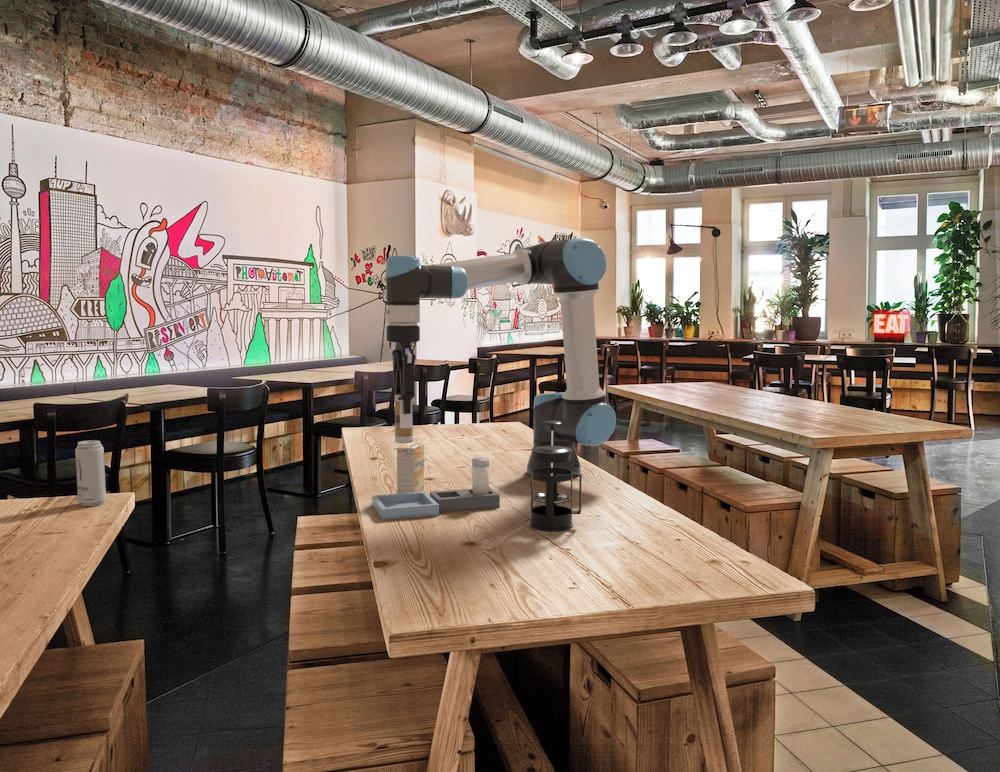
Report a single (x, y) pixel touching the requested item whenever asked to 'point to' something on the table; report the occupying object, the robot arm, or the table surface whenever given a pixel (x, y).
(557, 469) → the french press
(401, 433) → the fuse
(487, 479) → the cylinder
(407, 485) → the supplement box
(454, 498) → the fuse block
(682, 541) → the table surface
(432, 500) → the parts tray
